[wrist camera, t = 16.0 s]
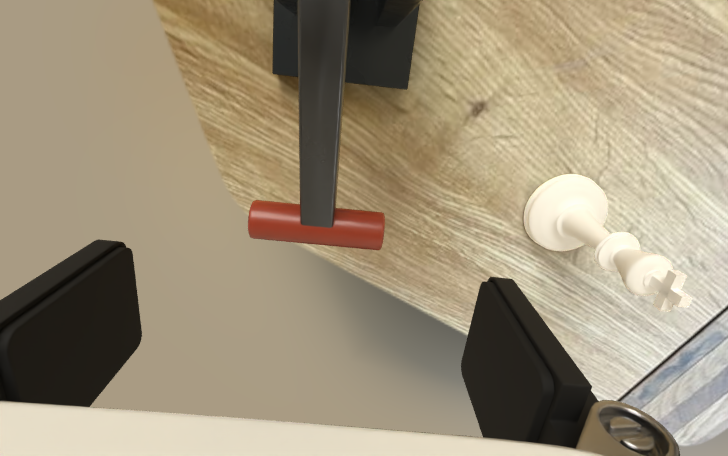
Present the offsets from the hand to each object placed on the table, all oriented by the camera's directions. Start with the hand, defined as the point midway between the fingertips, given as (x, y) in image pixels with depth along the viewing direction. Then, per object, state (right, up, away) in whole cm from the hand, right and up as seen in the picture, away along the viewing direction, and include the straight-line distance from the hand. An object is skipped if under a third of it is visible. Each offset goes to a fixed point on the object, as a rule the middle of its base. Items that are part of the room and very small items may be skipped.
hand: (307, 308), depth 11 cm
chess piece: (+14, +3, +14) cm, 20 cm away
